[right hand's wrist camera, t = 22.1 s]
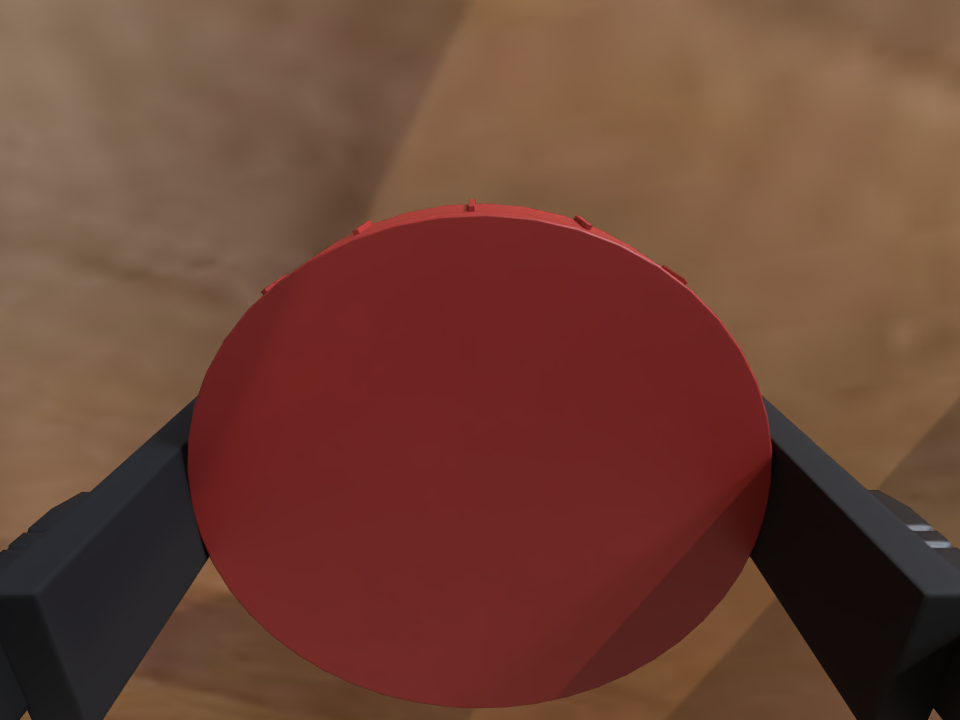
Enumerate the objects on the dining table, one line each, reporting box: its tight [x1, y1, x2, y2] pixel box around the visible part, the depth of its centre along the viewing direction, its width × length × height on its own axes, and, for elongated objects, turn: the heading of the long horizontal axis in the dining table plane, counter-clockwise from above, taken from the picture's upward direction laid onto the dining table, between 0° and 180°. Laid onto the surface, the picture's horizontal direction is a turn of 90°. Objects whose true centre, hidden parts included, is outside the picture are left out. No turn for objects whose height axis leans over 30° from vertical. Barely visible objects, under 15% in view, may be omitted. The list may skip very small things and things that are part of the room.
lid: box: [187, 199, 772, 708], centre depth 12 cm, size 11×12×2 cm
